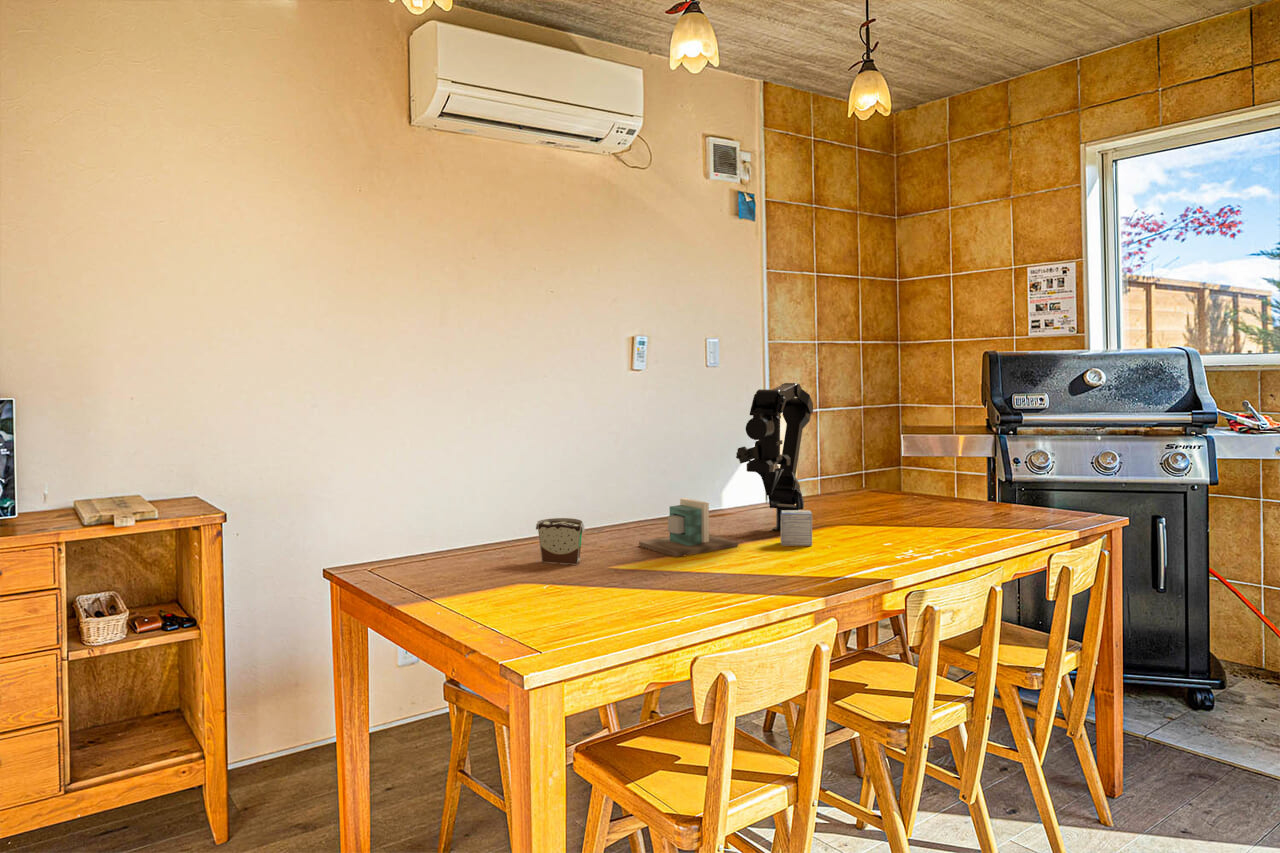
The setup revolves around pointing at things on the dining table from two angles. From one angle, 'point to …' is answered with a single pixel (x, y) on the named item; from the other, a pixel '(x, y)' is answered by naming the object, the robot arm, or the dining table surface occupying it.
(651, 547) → the board
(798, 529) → the medicine box
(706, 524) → the cream upright panel
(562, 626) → the dining table surface
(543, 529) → the food container
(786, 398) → the robot arm
